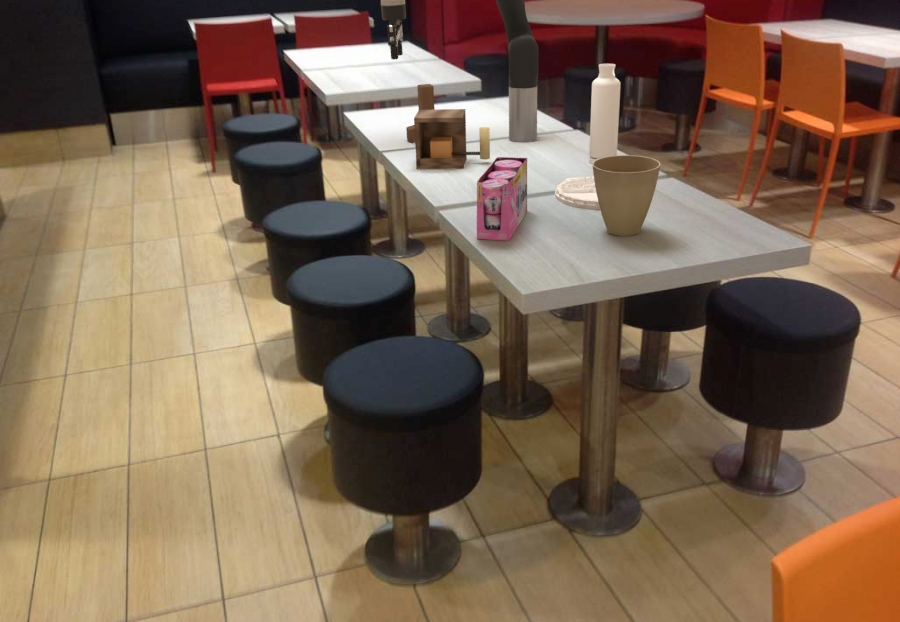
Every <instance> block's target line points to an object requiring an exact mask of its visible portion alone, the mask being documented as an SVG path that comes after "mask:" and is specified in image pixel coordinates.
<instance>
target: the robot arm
mask: <svg viewBox="0 0 900 622" xmlns="http://www.w3.org/2000/svg"><path fill="white" fill-rule="evenodd" d="M495 2H496V5H497V7H498V10H499V13H500V15H501V17H502V20H503V23H504V24H503V25H504V28H505V34H506V38H507V39H506V40H507V49H508V140H509V141H512V142H518V143H522V142H523V143H527V142H533V141H534V142H535V141H537V140H538V79H539V46H538V43H537V41H536V40H535V37H534V35H533V32H532V30H531V26H530V22H529V20H528V18H527V12H526V1H525V0H495ZM380 7H381V8H380V9H381V19H382V20H383V21H388V24H387V25H386V30H387V31H386V32H387V42H388V43H387V45H388V46H389V48H390V60H398V59H399V56H403V42H404V41H403V40H404V33H403V22H402V21H403V20H405V19H406V18H407V12H406V0H380Z"/></svg>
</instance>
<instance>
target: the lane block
mask: <svg viewBox="0 0 900 622" xmlns="http://www.w3.org/2000/svg"><path fill="white" fill-rule="evenodd" d="M490 130H491V129H490V127H488V126H483V127H479V151H466V152H453V151H452V137H432V139H431V141H430V152H431V158H452V157H453V155H467V156H479V159H480V160H490V159H491V151H490V150H491V144H490V143H491V142H490V141H491V140H490V137H491V135H490Z"/></svg>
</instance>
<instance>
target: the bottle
mask: <svg viewBox="0 0 900 622" xmlns="http://www.w3.org/2000/svg"><path fill="white" fill-rule="evenodd" d="M615 69H616V64H615V63H599V64H598V72H599V73H598V74H597V75H598V76H597V77H596V78H595V79H594V80H592V82H591V100H590V104H591V105H590V128H589V129H590V131H589V153H588V155H589V157H588V163H589V164H591V165H592V163H593V162H594V161H595V160H597V159H600V158H603V157H608V156H617V154H618V139H619V122H620V120H619V119H620V100H621V84H622V83H621V81H620V80H619V79H618V78H617V77H616V74H615Z"/></svg>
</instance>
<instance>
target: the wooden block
mask: <svg viewBox="0 0 900 622" xmlns="http://www.w3.org/2000/svg"><path fill="white" fill-rule="evenodd" d="M416 87H417V101H418V102H417V105H418V111H419V110H435V90H434V89H435V88H434V85H432V84H431V83H425V84H424V83H423V84H417V86H416ZM405 128H406V130H405V131H406V140H407V141H408V142H409V143H410V144H411V143H415V127H414V124H413V125H410V126H409V125H408V126H407V127H405Z"/></svg>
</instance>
